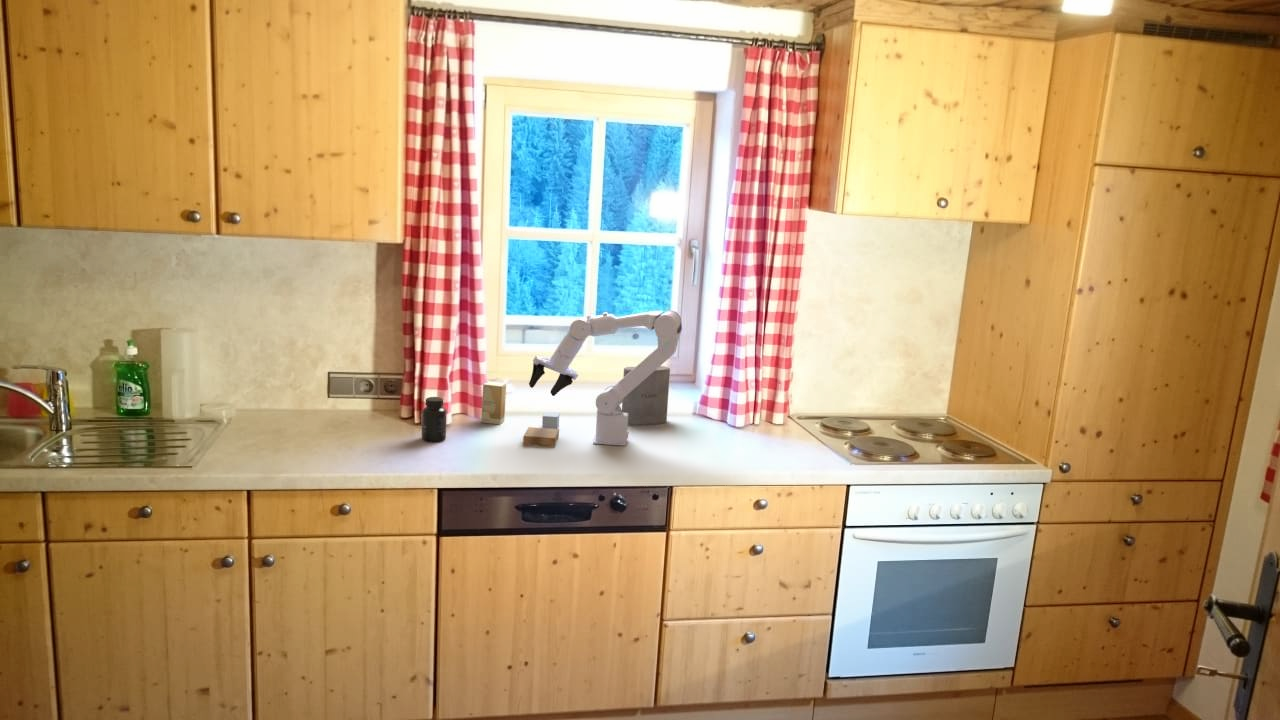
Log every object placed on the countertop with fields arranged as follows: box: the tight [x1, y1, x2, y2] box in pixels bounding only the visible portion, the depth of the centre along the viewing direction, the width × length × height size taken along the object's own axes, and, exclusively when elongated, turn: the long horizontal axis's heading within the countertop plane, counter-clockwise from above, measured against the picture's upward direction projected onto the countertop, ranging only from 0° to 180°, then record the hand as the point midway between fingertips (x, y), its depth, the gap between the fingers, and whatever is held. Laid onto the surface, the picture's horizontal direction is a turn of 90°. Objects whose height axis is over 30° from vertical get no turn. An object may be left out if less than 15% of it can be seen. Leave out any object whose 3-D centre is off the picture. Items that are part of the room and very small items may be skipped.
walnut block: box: [522, 426, 560, 448], centre depth 270 cm, size 9×9×3 cm
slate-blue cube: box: [541, 411, 560, 429], centre depth 283 cm, size 4×4×4 cm
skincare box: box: [480, 380, 507, 425], centre depth 285 cm, size 6×4×12 cm
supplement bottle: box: [421, 396, 447, 444], centre depth 265 cm, size 7×7×12 cm
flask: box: [621, 365, 671, 426], centre depth 293 cm, size 15×6×20 cm, turn 110°
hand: (541, 390), depth 275 cm, fingers open, 7 cm apart
